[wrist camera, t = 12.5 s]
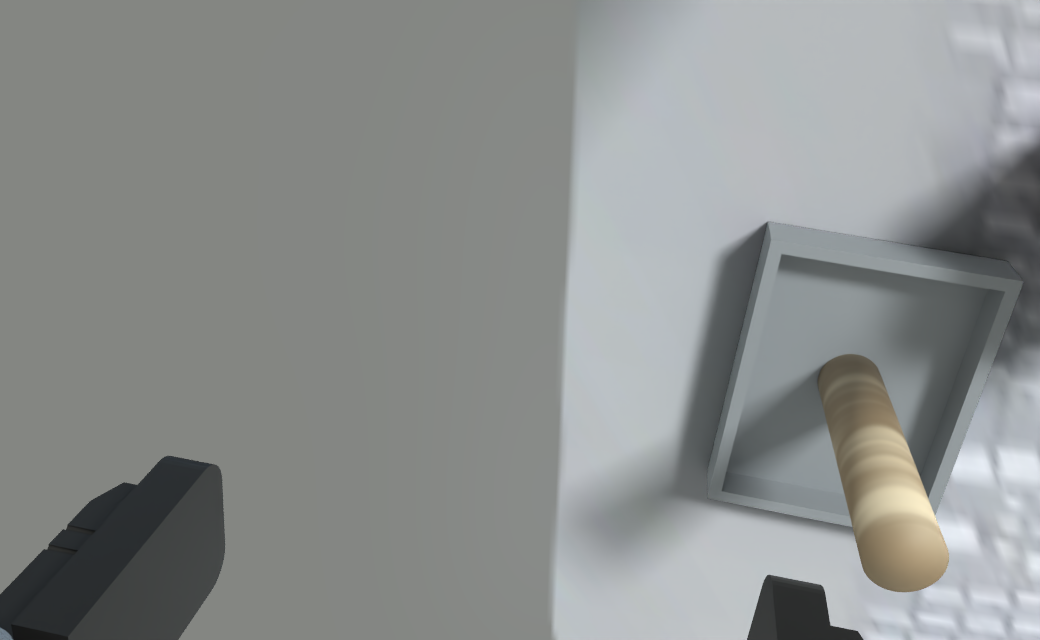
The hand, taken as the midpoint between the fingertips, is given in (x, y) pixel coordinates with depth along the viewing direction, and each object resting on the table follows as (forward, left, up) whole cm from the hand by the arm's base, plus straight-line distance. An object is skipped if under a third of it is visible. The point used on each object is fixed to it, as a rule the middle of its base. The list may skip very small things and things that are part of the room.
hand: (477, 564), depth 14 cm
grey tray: (+12, +13, -34) cm, 38 cm away
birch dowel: (+12, +13, -33) cm, 37 cm away
